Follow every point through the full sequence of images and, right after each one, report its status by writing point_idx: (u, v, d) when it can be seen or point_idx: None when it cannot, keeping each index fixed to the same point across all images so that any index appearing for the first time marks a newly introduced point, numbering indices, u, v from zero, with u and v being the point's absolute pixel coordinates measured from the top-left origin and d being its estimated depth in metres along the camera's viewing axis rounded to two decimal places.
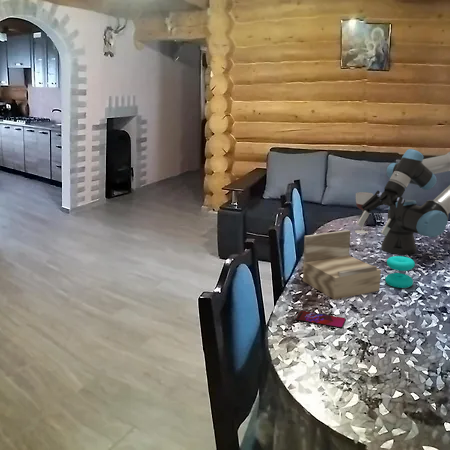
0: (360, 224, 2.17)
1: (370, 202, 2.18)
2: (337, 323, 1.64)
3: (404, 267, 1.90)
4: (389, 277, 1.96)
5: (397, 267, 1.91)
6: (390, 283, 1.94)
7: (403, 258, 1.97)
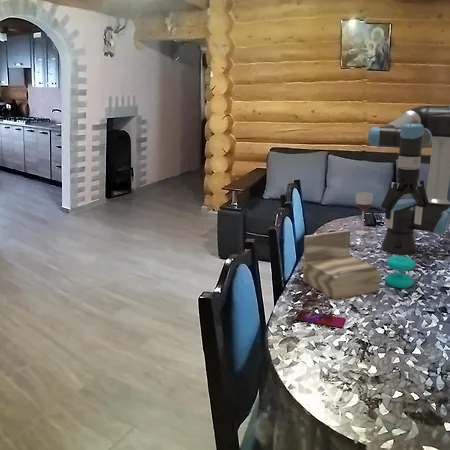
0: None
1: None
2: (337, 323, 1.64)
3: (404, 267, 1.90)
4: (389, 277, 1.96)
5: (397, 267, 1.91)
6: (390, 283, 1.94)
7: (403, 258, 1.97)
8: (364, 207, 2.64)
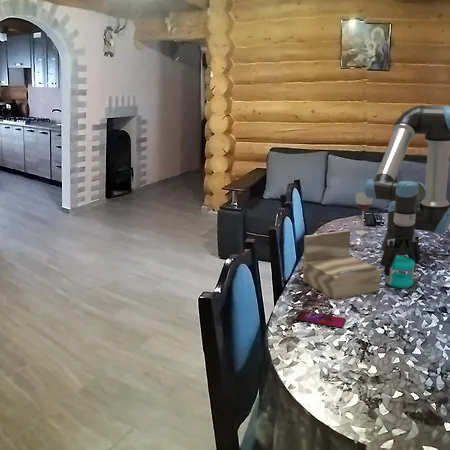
0: None
1: None
2: (337, 323, 1.64)
3: (404, 267, 1.90)
4: None
5: (397, 267, 1.91)
6: None
7: (403, 258, 1.97)
8: (364, 207, 2.64)
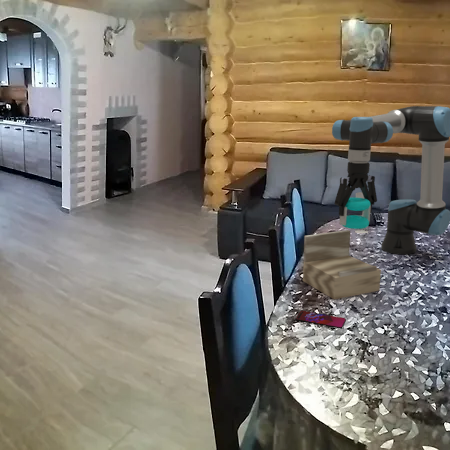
0: None
1: None
2: (337, 323, 1.64)
3: (359, 206, 1.83)
4: None
5: (351, 206, 1.84)
6: None
7: (359, 199, 1.90)
8: None
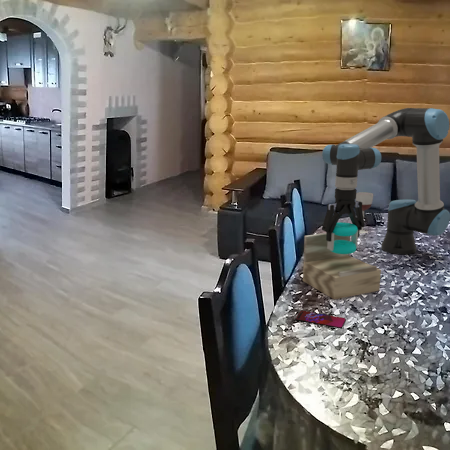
0: None
1: None
2: (337, 323, 1.64)
3: (345, 232, 1.85)
4: None
5: (338, 232, 1.86)
6: None
7: (346, 224, 1.92)
8: (364, 207, 2.64)
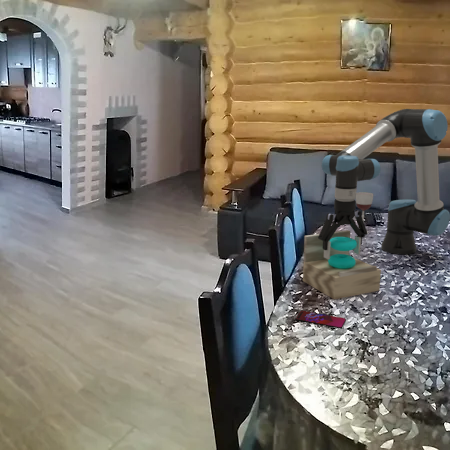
0: None
1: None
2: (337, 323, 1.64)
3: (345, 247, 1.87)
4: (331, 258, 1.92)
5: (338, 247, 1.88)
6: (332, 264, 1.91)
7: (346, 239, 1.93)
8: (364, 207, 2.64)
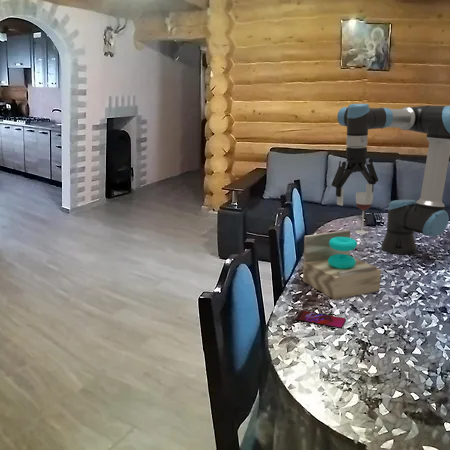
0: None
1: None
2: (337, 323, 1.63)
3: (345, 247, 1.87)
4: (331, 258, 1.92)
5: (338, 247, 1.88)
6: (332, 264, 1.91)
7: (346, 239, 1.93)
8: (364, 207, 2.64)
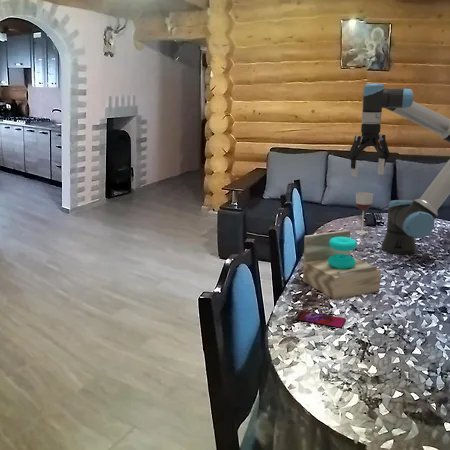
0: None
1: None
2: (337, 323, 1.63)
3: (345, 247, 1.87)
4: (331, 258, 1.92)
5: (338, 247, 1.88)
6: (332, 264, 1.91)
7: (346, 239, 1.93)
8: (364, 207, 2.64)
